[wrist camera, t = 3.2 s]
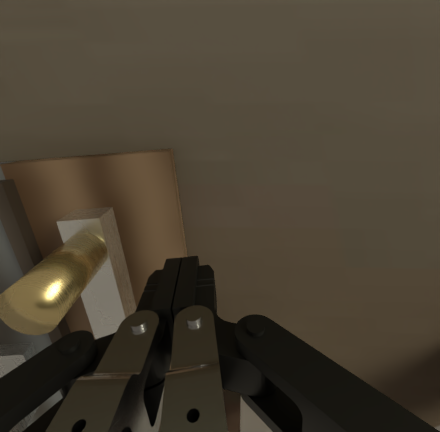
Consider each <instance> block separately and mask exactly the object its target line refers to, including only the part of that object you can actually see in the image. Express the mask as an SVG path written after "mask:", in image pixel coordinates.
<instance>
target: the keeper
mask: <svg viewBox="0 0 440 432" xmlns="http://www.w3.org/2000/svg"><path fill="white" fill-rule="evenodd" d="M36 354H37V351H36V349H35V346H34V344H33V342H32V343H19V344H7V345H0V378H1V377H3V376H4V375H6V374H7V373H9V372H10V371H12V370H13V369H15V368H16V367H18V366H19V365H21V364H22V363H24V362H25V361H27V360H28V359H30V358H31V357H33V356H34V355H36ZM37 409H38V407H37V408H36V409H35V410H34V411H33V412H31V413H30V414H29V415H28V416H26V417H25V418H24V419H23V420H21V421H20V422H19V423H18V424H16V425H15V426H14V427H13V428H12V429H11V430H10V432H22V431H23V430H25V429H26V427H27V425H28V424H29V422H30V420H31V419H32V417H33V416H34V414H35V412H36V411H37Z"/></svg>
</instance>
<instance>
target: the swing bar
mask: <svg viewBox="0 0 440 432" xmlns="http://www.w3.org/2000/svg"><path fill="white" fill-rule="evenodd" d="M57 225H58V228H59V231H60V234H61V237H62V240H63V244H62V245H61V246H59V247H58V248H57V249H56V250H54V251H53V252H52V253H51V254H50V255H48V256H47V257H46V258H45V259H43V260H42V261H41V262H40V263H39V264H37V265H36V266H35V267H34V268H32V269H31V270H30V271H29V272H27V273H26V274H25V275H24V276H23V277H21V278H20V279H19V280H18V281H16V282H15V283H14V284H13V285H12V286H10V287H9V288H8V289H7V290H5V291H4V292H3V293H2V294H1V295H0V318H1V319H2V321H3V322H4V323H5V324H6V325H8V326H9V327H10V328H12V329H14V330H16V331H18V332H20V333H23V334H28V335H42V334H46V333H49V332H50V331H52V330H53V329H54V328H55V327H56V326H57V325H58V324H59V322H60V321H61V320H62V318H63V317H64V316H65V314H66V313H67V312H68V311H69V309H70V308H71V307H72V305H73V304H74V303H75V301H76V300H77V299H78V297H79V296H80V295H81V298H82V301H83V304H84V307H85V310H86V313H87V316H88V319H89V322H90V325H91V328H92V331H93V334H94V337H95V339H98V338H101V337H104V336H107V335H110V334H113V333H115V332H116V331H117V329H118V328H119V326H120V324H121V322H122V321H123V320H124V319H125V318H126V317H128V316H129V315H131V314H133V313H135V311H136V309H137V307H136V303H135V298H134V294H133V290H132V286H131V282H130V278H129V273H128V269H127V265H126V261H125V257H124V253H123V249H122V244H121V240H120V236H119V232H118V228H117V224H116V220H115V215H114V211H113V207H104V208H92V209H79V210H74V211H72V212H71V213H69V214H67V215H66V216H64V217H63V218H61V219H60V220H58V221H57Z"/></svg>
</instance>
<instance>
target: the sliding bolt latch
mask: <svg viewBox="0 0 440 432" xmlns="http://www.w3.org/2000/svg"><path fill="white" fill-rule="evenodd" d="M104 207H113V211H114V215H115V220H116V224H117V228H118V232H119V236H120V240H121V244H122V249H123V253H124V257H125V261H126V265H127V269H128V273H129V278H130V282H131V286H132V290H133V294H134V298H135V303H136V307H137V306H138V303H139V301H140V298H141V296H142V293H143V292H144V288H145V286H146V283H147V280H148V278H149V276H150V275H151V274H152V273H153V272H154V271H155V270H162V269H163V267H164V264H165V261H166V259H169V258H180V257H182V258H183V257H188V256H187V249H186V242H185V235H184V227H183V220H182V213H181V206H180V198H179V191H178V184H177V177H176V170H175V162H174V155H173V149H161V150H149V151H137V152H124V153H112V154H99V155H87V156H74V157H62V158H49V159H37V160H25V161H12V162H0V295H1V294H2V293H3V292H4V291H5V290H7V289H8V288H9V287H10V286H12V285H13V284H14V283H15V282H16V281H18V280H19V279H20V278H21V277H23V276H24V275H25V274H26V273H27V272H29V271H30V270H31V269H32V268H34V267H35V266H36V265H37V264H39V263H40V262H41V261H42V260H43V259H45V258H46V257H47V256H48V255H50V254H51V253H52V252H53V251H54V250H56V249H57V248H58V247H59V246H61V245H62V244H63V240H62V237H61V234H60V231H59V228H58V225H57V221H58V220H60V219H61V218H63V217H64V216H66V215H67V214H69V213H71V212H72V211H74V210H79V209H92V208H104ZM80 330H85V331H89V332H91V333H92V334H93V331H92V328H91V325H90V322H89V319H88V316H87V313H86V310H85V307H84V304H83V301H82V298H81V295H80V296H79V297H78V299H77V300H76V301H75V303H74V304H73V305H72V307H71V308H70V309H69V311H68V312H67V313H66V314H65V316H64V317H63V318H62V320H61V321H60V322H59V324H58V325H57V326H56V327H55V328H54V329H53V330H52V331H50V332H49V333H46V334H42V335H28V334H23V333H20V332H18V331H16V330H14V329H12V328H10V327H9V326H8V325H6V324H5V323H4V322H3V321H2V319H1V318H0V345H7V344H19V343H32V342H33V344H34V346H35V349H36V351H37V353H39V352H40V351H42V350H43V349H45V348H46V347H48V346H49V345H51V344H53V343H54V342H56V341H57V340H59V339H60V338H62V337H63V336H65V335H67V334H69V333H72V332H75V331H80ZM93 337H94V334H93ZM94 340H95V337H94ZM170 368H171V365H170ZM62 398H63V397H62V395H61V393H60V391H57V392H56V393H55V394H54V395H52V396H51V397H50V398H49V399H47V400H46V401H45V402H44V403H42V404H41V405H40V406H39V407H38V409H37V411H36V412H35V414H34V416H33V417H32V419H31V420H30V422H29V424H28V425H27V427H28V426H29V425H31V424H32V423H33V422H34V421H35V420H37V419H38V418H39V417H40V416H41V415H43V414H44V413H45V412H46V411H47V410H49V409H50V408H51V407H52V406H53V405H55V404H56V403H57V402H58V401H59V400H61V399H62ZM160 424H161V422H160ZM27 427H26V428H27ZM158 432H160V427H159V431H158Z"/></svg>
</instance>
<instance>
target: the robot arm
mask: <svg viewBox="0 0 440 432" xmlns="http://www.w3.org/2000/svg"><path fill="white" fill-rule="evenodd" d="M170 365H171V368H170ZM222 388H223V389H226V390H230V391H234V392H238V393H240V394H241V397H242V399H243V400H244V402H245V403H246V404H247V405H248V406H249V407H250V408H251V409H252V410H253V411H254V412H255V413H256V415H257V416H258V417H259V418H260V419H261V420H262V421H263V422H264V423H265V424H266V425H267V426H268V427H269V428H270V429H271V431H272V432H440V431H438V430H436V429H435V428H434V427H432V426H431V425H429V424H428V423H426V422H425V421H423V420H421V419H420V418H418V417H417V416H415V415H414V414H412V413H411V412H409V411H408V410H406V409H405V408H403V407H402V406H400V405H399V404H397V403H396V402H394V401H393V400H391V399H390V398H388V397H387V396H385V395H384V394H382V393H381V392H379V391H378V390H376V389H375V388H373V387H372V386H370V385H369V384H367V383H366V382H364V381H363V380H361V379H360V378H358V377H357V376H355V375H354V374H352V373H351V372H349V371H348V370H346V369H345V368H343V367H342V366H340V365H339V364H337V363H336V362H334V361H333V360H331V359H329V358H328V357H326V356H325V355H323V354H322V353H320V352H319V351H317V350H316V349H314V348H313V347H311V346H310V345H308V344H307V343H305V342H304V341H302V340H301V339H299V338H298V337H296V336H295V335H293V334H292V333H290V332H289V331H287V330H286V329H284V328H283V327H281V326H280V325H278V324H277V323H275V322H274V321H272V320H271V319H269V318H267V317H265V316H262V315H248V316H245V317H243V318H242V319H240V320H239V321H238V322H237V324H236V323H231V322H227V321H224V320H222V319H221V318H220V317H218V315H217V300H216V289H215V280H214V271H213V269H212V268H211V267H210V266H209V265H204V266H199V259H198V256H190V257H183V258H182V257H180V258H169V259H166V261H165V264H164V267H163V269H162V270H155V271H154V272H153V273H152V274H151V275H150V276H149V278H148V280H147V283H146V286H145V288H144V292H143V293H142V296H141V298H140V301H139V303H138V306H137V309H136V311H135V313H133V314H131V315H129V316H128V317H126V318H125V319H124V320H123V321H122V322H121V324H120V326H119V328H118V329H117V331H116V332H115V333H113V334H110V335H107V336H104V337H101V338H98V339H95V340H94V337H93V334H92V333H91V332H89V331H85V330H80V331H75V332H72V333H69V334H67V335H65V336H63V337H62V338H60V339H59V340H57V341H56V342H54V343H53V344H51V345H49V346H48V347H46V348H45V349H43V350H42V351H40V352H39V353H37V354H36V355H34V356H33V357H31V358H30V359H28V360H27V361H25V362H24V363H22V364H21V365H19V366H18V367H16V368H15V369H13V370H12V371H10V372H9V373H7V374H6V375H4V376H3V377H1V378H0V432H10V430H11V429H12V428H13V427H14V426H15V425H16V424H18V423H19V422H20V421H21V420H23V419H24V418H25V417H26V416H28V415H29V414H30V413H31V412H33V411H34V410H35V409H36V408H37V407H39V406H40V405H41V404H42V403H44V402H45V401H46V400H47V399H49V398H50V397H51V396H52V395H54V394H55V393H56V392H57V391H60V393H61V395H62V397H63V398H62V399H61V400H59V401H58V402H57V403H56V404H55V405H53V406H52V407H51V408H50V409H49V410H47V411H46V412H45V413H44V414H43V415H41V416H40V417H39V418H38V419H37V420H35V421H34V422H33V423H32V424H31V425H29V426H28V427H27V428H26V429H25V430H23V431H22V432H158V431H159V427H160V432H228V430H227V422H226V414H225V406H224V398H223V389H222ZM160 422H161V424H160Z"/></svg>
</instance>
